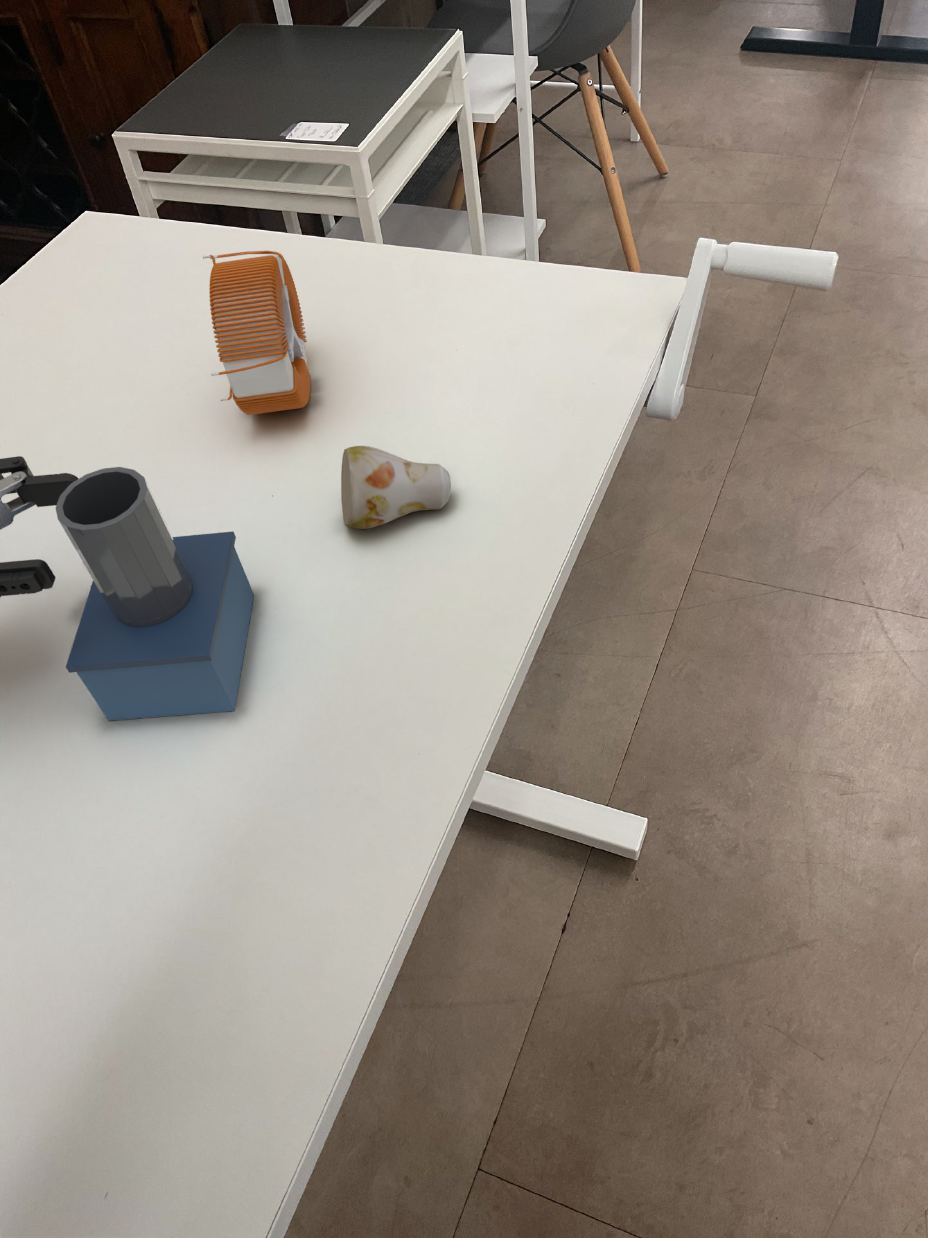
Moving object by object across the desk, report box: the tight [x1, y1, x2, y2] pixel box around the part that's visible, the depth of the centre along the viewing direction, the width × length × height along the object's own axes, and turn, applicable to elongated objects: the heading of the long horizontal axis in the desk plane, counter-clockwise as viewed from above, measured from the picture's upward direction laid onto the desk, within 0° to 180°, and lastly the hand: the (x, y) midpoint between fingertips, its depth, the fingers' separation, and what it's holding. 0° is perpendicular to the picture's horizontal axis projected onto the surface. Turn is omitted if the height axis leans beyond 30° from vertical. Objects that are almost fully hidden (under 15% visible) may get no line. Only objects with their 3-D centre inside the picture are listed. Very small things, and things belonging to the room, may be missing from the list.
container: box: [65, 531, 255, 722], centre depth 79 cm, size 13×11×7 cm
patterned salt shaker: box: [340, 445, 452, 530], centre depth 87 cm, size 8×10×10 cm
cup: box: [55, 466, 193, 627], centre depth 72 cm, size 6×6×10 cm
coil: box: [202, 250, 311, 416], centre depth 97 cm, size 7×15×15 cm, turn 4°
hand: (66, 528), depth 71 cm, fingers open, 8 cm apart
